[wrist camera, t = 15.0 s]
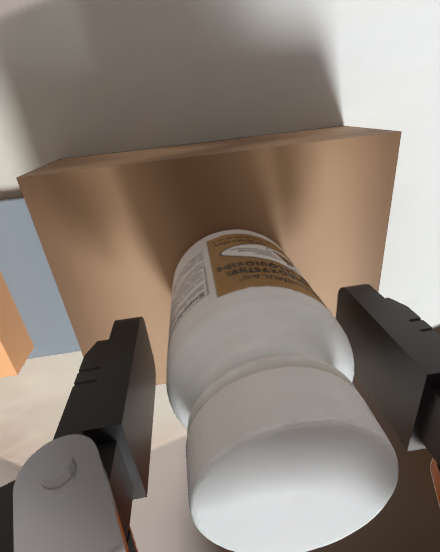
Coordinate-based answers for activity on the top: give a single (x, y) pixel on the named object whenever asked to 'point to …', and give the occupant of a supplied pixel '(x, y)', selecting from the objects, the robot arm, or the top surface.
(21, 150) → the top surface
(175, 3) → the top surface
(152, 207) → the block
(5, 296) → the thin peach tile
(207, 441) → the pill bottle
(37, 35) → the top surface
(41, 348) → the mat
